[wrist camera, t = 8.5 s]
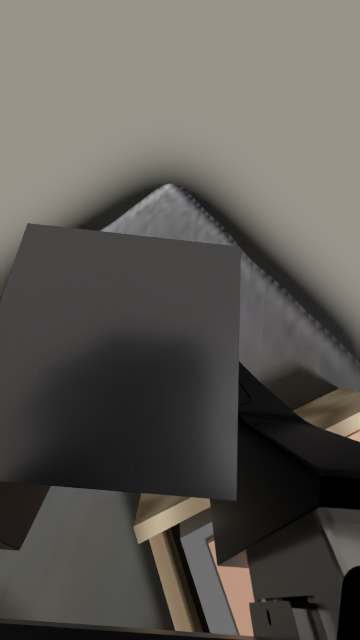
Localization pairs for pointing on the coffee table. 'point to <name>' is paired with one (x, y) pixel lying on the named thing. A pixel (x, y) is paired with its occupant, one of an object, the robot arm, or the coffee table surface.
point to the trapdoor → (219, 576)
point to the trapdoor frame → (166, 511)
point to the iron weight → (120, 364)
